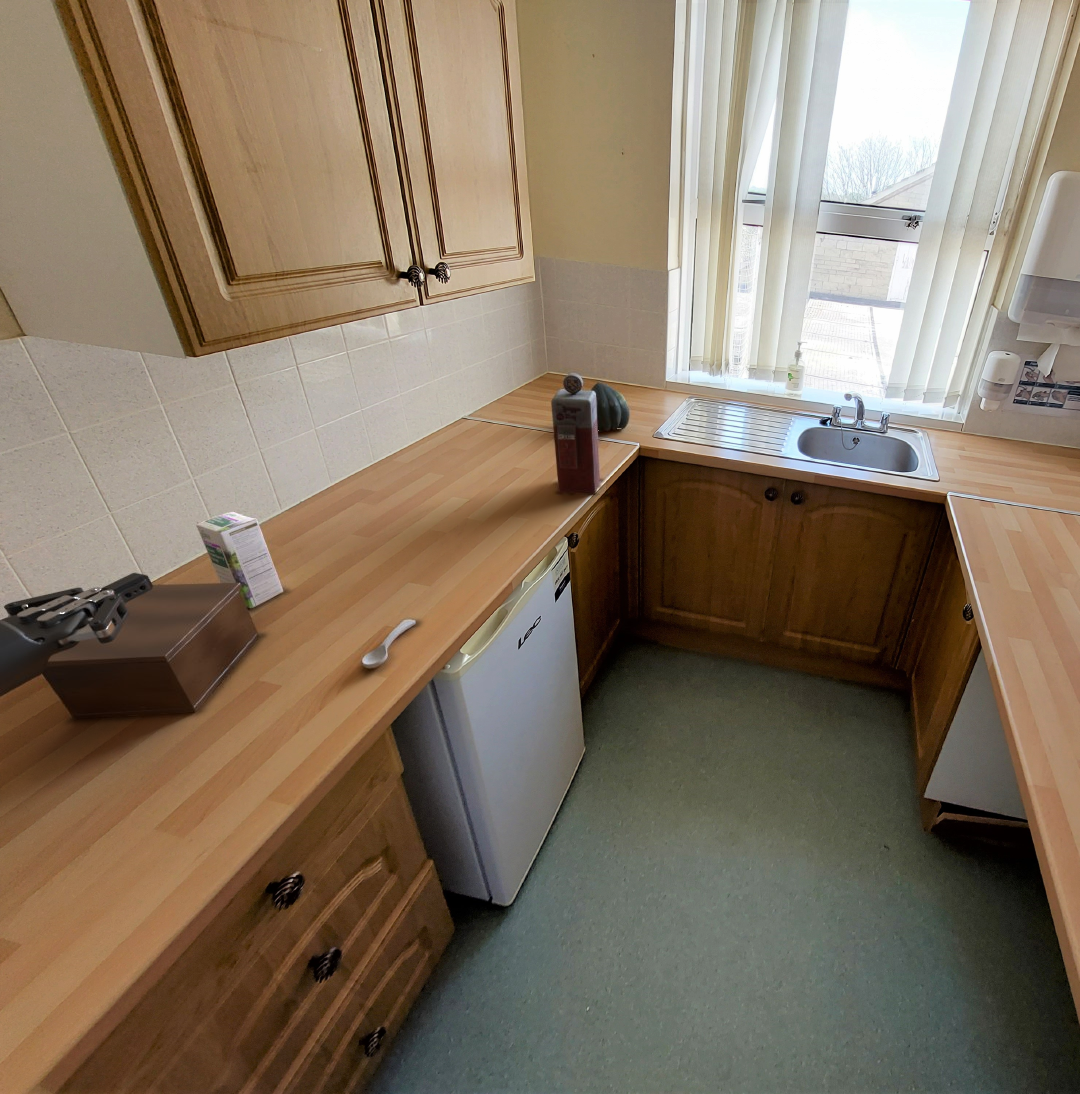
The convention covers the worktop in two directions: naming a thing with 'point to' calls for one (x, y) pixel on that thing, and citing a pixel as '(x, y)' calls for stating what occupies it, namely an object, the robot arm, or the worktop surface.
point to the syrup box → (241, 556)
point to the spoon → (385, 646)
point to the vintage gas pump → (576, 437)
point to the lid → (153, 625)
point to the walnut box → (160, 672)
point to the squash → (610, 408)
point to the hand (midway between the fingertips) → (145, 579)
